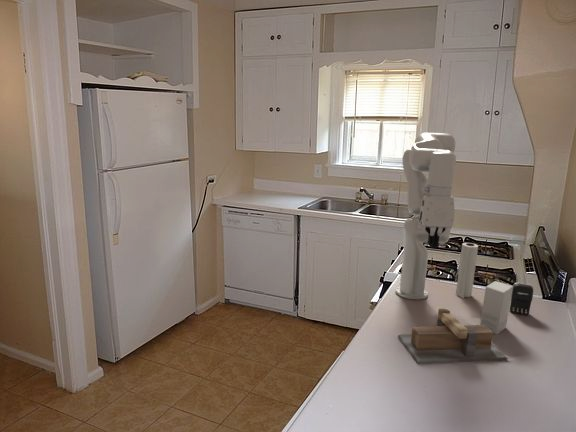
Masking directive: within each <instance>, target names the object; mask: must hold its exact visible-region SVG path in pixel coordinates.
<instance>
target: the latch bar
mask: <svg viewBox="0 0 576 432" xmlns="http://www.w3.org/2000/svg"><path fill="white" fill-rule="evenodd" d="M437 319H438V320H440V321H442V322H443V323H444V324H445V325H446V326H447V327H448V328H449V329H450V330H451V331H452V332H453V333H454V334H455V335H456V336H457V337H458V338H459V339H462V338H467V333H468V329H467V328H466V327H465V326H463V323H462V322H461V321H459V319H457V318H456V317H455V316H454V315H453V314H452V313H451V311H450V310H449V309H447V308H439V309H438V311H437Z"/></svg>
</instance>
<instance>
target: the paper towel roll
mask: <svg viewBox="0 0 576 432" xmlns="http://www.w3.org/2000/svg"><path fill="white" fill-rule="evenodd" d="M478 248H479V245H478V244H476V243H474V242H473V243H472V242H463V243H462V244H461V252H460V258H459V259H460V260H459V265H458V266H459V267H458V274H457V282H456V283H457V284H456V290H455V294H456V295H457V296H458V297H461V298H462V299H464V298H470V297H472V295H473V288H474V287H473V286H474V280H475V273H476V272H475V271H476V266H477V257H478V251H479V249H478Z"/></svg>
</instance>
